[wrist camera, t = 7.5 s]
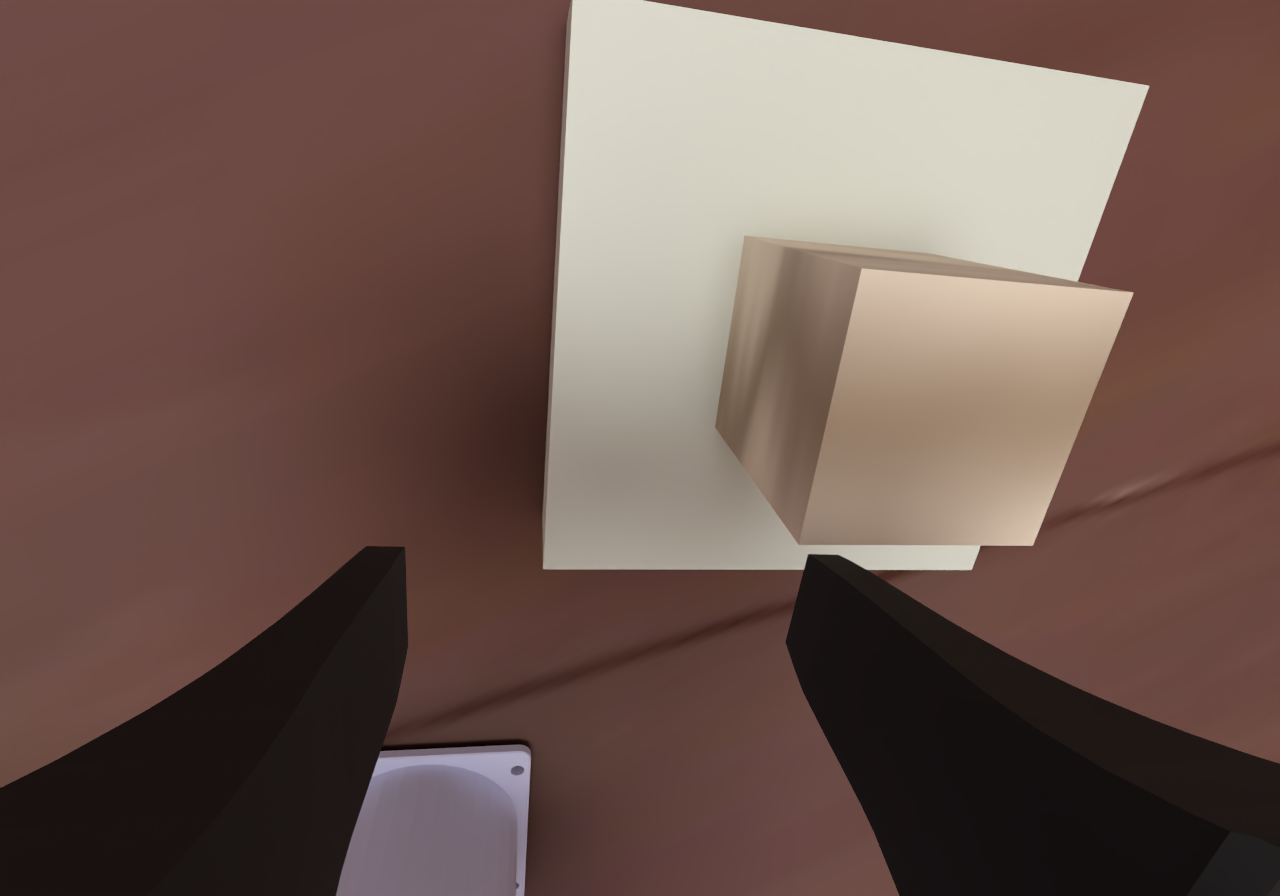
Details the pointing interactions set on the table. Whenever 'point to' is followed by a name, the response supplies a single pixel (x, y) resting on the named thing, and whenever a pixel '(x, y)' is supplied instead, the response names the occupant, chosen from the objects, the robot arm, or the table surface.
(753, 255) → the ash block
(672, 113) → the base plinth
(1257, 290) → the table surface
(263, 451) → the table surface
